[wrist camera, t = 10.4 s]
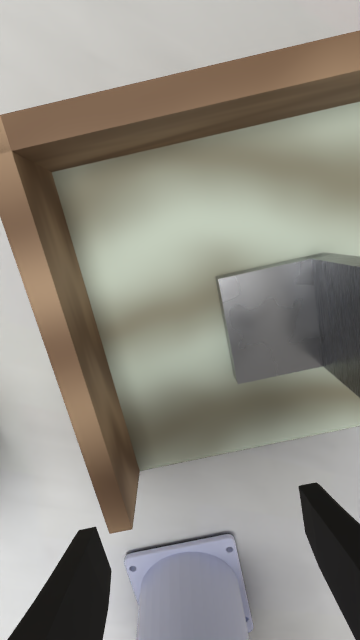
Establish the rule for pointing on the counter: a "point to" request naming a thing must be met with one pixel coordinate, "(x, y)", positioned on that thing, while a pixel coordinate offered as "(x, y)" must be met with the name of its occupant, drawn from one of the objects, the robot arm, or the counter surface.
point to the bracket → (294, 318)
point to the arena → (181, 249)
